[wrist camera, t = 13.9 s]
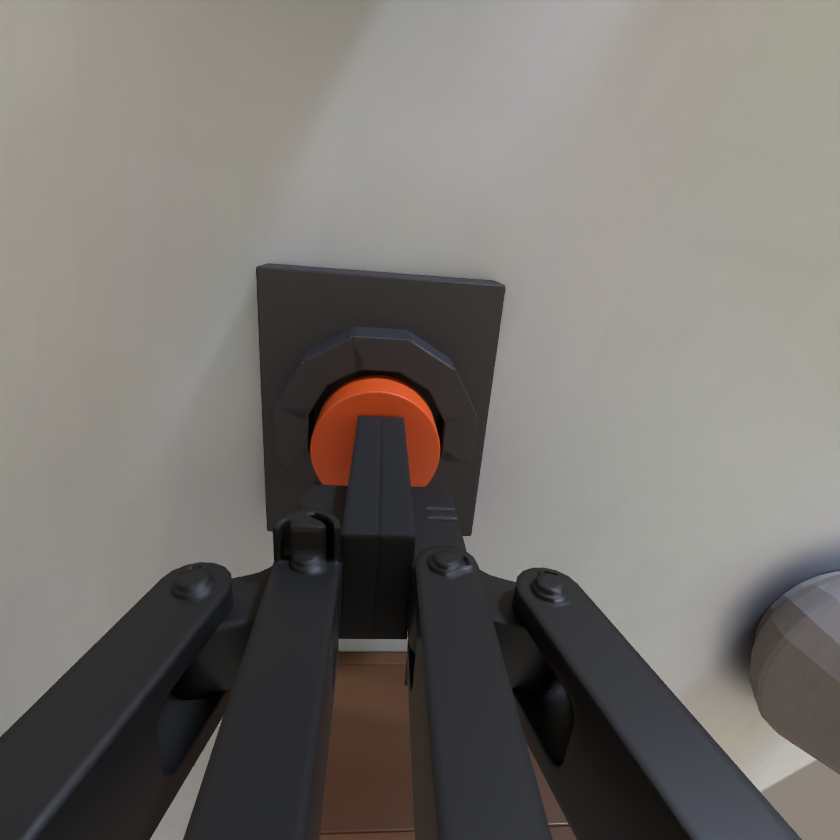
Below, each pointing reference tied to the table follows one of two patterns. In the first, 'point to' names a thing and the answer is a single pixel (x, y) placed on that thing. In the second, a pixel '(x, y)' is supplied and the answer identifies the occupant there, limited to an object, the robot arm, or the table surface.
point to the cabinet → (382, 755)
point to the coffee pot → (802, 667)
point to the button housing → (374, 364)
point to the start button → (373, 399)
